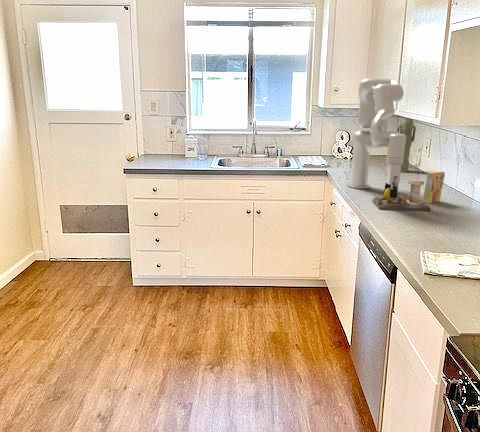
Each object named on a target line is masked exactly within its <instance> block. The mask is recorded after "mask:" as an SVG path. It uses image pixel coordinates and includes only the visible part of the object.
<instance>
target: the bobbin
mask: <svg viewBox="0 0 480 432" xmlns="http://www.w3.org/2000/svg"><path fill="white" fill-rule="evenodd" d="M408 184H409V185H410V188H409V195H408V196H409V197H408V199H407V200H406V204H408V205H414V206H419V205H421V202H420V201H419V200H420V192H421V186H424V185H425V181H423V180H418V179H417V180H416V179H409V180H408Z"/></svg>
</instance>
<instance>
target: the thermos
mask: <svg viewBox="0 0 480 432" xmlns="http://www.w3.org/2000/svg"><path fill="white" fill-rule="evenodd" d="M409 118H410V117H404V118H402V119H401V122H400V125H398V126H397V128H396V132H399V133H401V134H404V135H405V136H406V142H405V150H404V157H403V164H401V171H400V173H407V171H409V166H410V160H409V159H410V154H411V153H410V152H411V146H412V144H413V142H415V139H416V138H415V137H416V131H417V130H416V129H417V127H416V125H414V120H413V118H411V119H409Z"/></svg>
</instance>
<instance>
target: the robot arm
mask: <svg viewBox="0 0 480 432" xmlns="http://www.w3.org/2000/svg"><path fill="white" fill-rule="evenodd" d="M358 97H359V107H358V116H357V126H358V127H359V128H361V129H369V130H357V131H355V132H354V133H353V136H352V145H353V146H352V161H351V162H352V163H351V171H350V172H351V174H350V182H347V184H346V186H347V187H349V188H352V189H361V190H365V189H369V188H371V184H369V182H368V181H369V175H370V174H369V172H370V163H371V162H370V161H371V154H370V152H369V151H368V149H380V148H387V151H386V152H387V153H386V160H385V163H386V166H385V169H384V177H383V181H384V182H385V183H384V191H383V192H384V193H385V190H386V189H387V188H389V187H391V190H390V198H396V199H397V197H398V190H399V184H400V181H401V180H400V178H401V172H400V171H401V164H403V157H404V150H405V142H406V136H405V135H404V134H401V133H400V131H399V132H397V131H394V130H392V131H389V130H388V123H389V120H388V119H389V118H391V117H392V116H394V114H395V112H396V111H395V106H394V105H395V104H394V102H400V101H401V100H403V98H404V89H403V87H402V84H400V83H399V82H397V81H396V80H394V79H391V78H376V77H375V78H372V77H371V78H364V79H362V80H361V81H360V83H359V86H358Z"/></svg>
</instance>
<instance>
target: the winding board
mask: <svg viewBox="0 0 480 432" xmlns="http://www.w3.org/2000/svg"><path fill="white" fill-rule="evenodd" d="M406 200H408V199H407V198H406V197H405V196H404V195H397V198H395V199H394V200H393V201H391V202H390V203H389V202H388V201H386V200H385V198H384V196H381V195H380V194H374V198H372V200H371V201H372V203H373V204H374V205H375V207H377V209H378V210H384V211H385V210H386V211H387V210H390V211H391V210H392V211H415V212H417V211H419V212H431V211H432V207H430V206H429V205H428V204H426V202H423V200H421V199H419V201H420V202H421V205H419V206H414V205H408V204H406Z"/></svg>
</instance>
